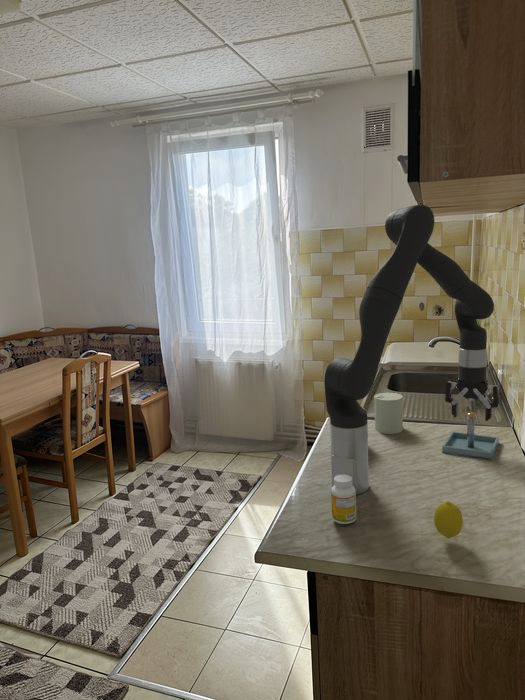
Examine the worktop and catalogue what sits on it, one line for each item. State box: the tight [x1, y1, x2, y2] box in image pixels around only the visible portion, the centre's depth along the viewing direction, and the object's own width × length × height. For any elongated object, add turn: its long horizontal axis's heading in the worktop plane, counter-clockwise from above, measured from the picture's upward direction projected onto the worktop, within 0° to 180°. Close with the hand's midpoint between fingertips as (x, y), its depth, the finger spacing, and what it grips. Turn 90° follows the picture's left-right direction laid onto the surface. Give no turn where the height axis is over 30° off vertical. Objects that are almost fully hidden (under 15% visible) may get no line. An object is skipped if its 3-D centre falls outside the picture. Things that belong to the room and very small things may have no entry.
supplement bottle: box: [330, 475, 357, 525], centre depth 113 cm, size 5×5×10 cm
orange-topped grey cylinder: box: [466, 411, 476, 448], centre depth 148 cm, size 2×2×10 cm
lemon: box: [433, 501, 464, 539], centre depth 104 cm, size 6×6×8 cm
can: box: [373, 392, 404, 435], centre depth 167 cm, size 9×9×12 cm
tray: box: [441, 431, 500, 461], centre depth 149 cm, size 13×13×2 cm
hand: (471, 418), depth 147 cm, fingers open, 8 cm apart
